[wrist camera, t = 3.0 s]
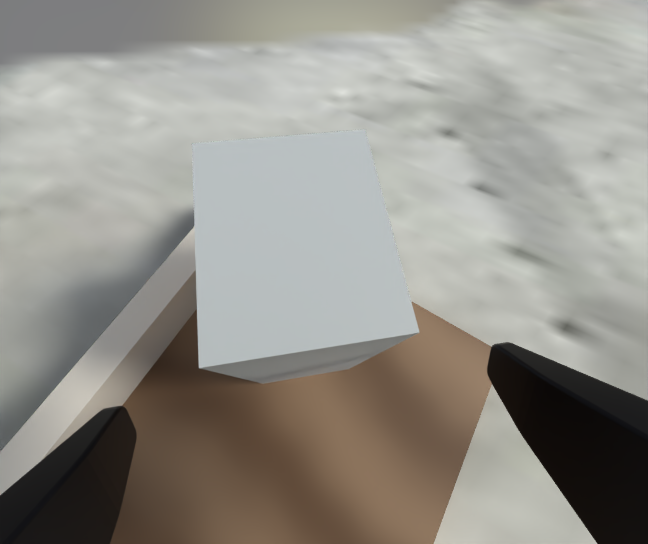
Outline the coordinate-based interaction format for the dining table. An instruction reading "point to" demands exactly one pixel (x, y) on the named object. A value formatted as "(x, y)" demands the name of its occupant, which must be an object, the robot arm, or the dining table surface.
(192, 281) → the rail
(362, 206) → the carton
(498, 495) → the dining table surface
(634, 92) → the dining table surface
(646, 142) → the dining table surface
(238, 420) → the shelf board
